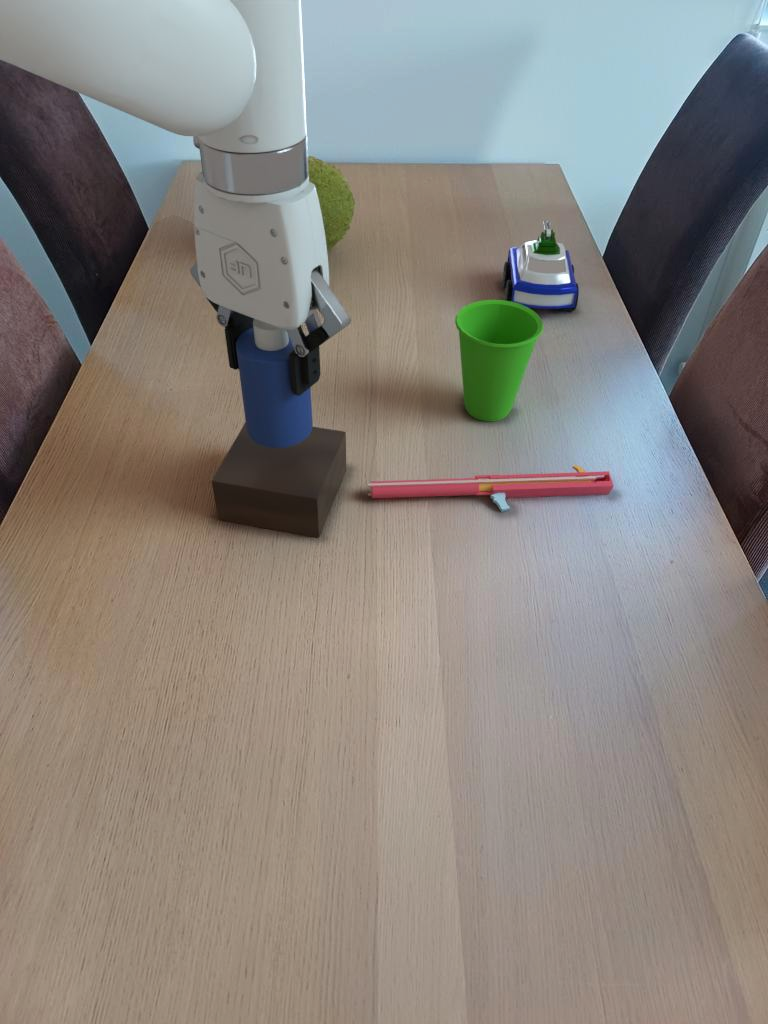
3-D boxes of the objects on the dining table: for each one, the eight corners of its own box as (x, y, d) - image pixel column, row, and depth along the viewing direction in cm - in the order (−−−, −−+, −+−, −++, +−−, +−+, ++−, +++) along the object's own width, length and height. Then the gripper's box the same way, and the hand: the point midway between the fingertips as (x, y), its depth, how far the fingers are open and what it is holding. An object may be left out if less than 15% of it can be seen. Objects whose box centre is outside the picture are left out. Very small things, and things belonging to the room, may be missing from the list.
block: (319, 538, 75) (317, 498, 71) (217, 520, 76) (211, 480, 73) (346, 470, 82) (346, 431, 78) (253, 454, 83) (248, 415, 80)
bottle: (285, 456, 71) (276, 348, 63) (233, 432, 73) (217, 325, 65) (325, 422, 74) (321, 316, 67) (274, 400, 77) (264, 295, 69)
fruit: (290, 218, 125) (335, 132, 115) (340, 283, 121) (391, 200, 111) (204, 214, 113) (245, 118, 103) (257, 286, 109) (305, 193, 99)
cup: (444, 428, 87) (452, 340, 80) (450, 381, 94) (458, 295, 86) (527, 437, 86) (543, 349, 79) (528, 388, 93) (543, 303, 85)
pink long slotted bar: (611, 511, 79) (602, 471, 82) (618, 501, 78) (608, 460, 80) (369, 520, 78) (367, 478, 80) (370, 510, 76) (367, 467, 78)
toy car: (567, 277, 113) (579, 211, 106) (577, 322, 104) (591, 253, 97) (500, 274, 113) (509, 208, 106) (505, 319, 104) (514, 249, 98)
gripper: (128, 151, 58) (170, 363, 70) (322, 209, 51) (330, 431, 64) (199, 122, 63) (226, 325, 75) (386, 172, 56) (382, 386, 69)
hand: (274, 372), depth 69 cm, fingers closed on bottle, 6 cm apart
